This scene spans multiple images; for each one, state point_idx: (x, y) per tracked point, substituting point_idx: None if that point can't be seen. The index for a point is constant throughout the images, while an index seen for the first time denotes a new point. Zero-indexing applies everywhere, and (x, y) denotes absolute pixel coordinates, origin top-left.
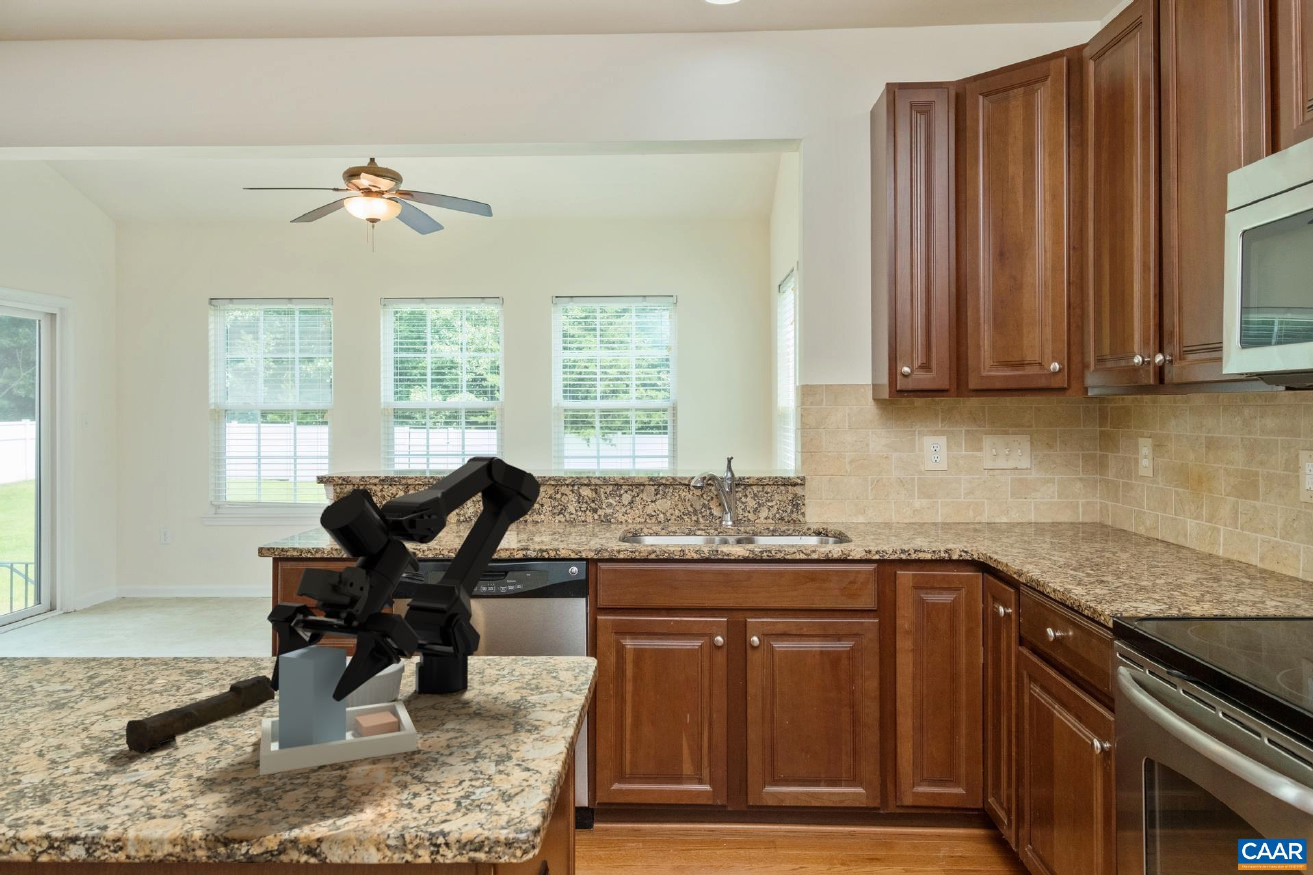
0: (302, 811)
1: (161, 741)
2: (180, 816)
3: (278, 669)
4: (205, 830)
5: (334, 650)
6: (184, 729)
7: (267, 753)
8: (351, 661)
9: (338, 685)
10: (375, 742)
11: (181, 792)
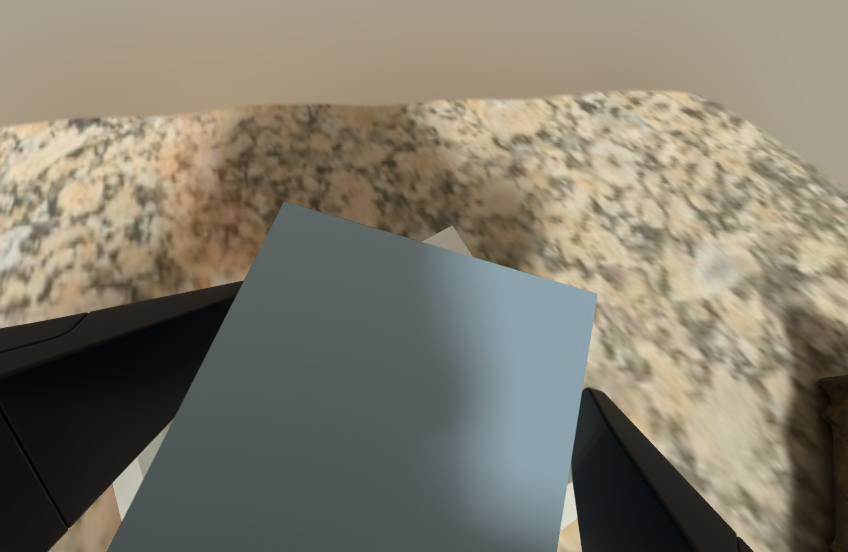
0: (318, 165)
1: (832, 426)
2: (502, 140)
3: (630, 448)
4: (435, 108)
5: (211, 509)
6: (842, 491)
7: (443, 238)
8: (71, 345)
9: (222, 293)
10: None
11: (567, 211)
